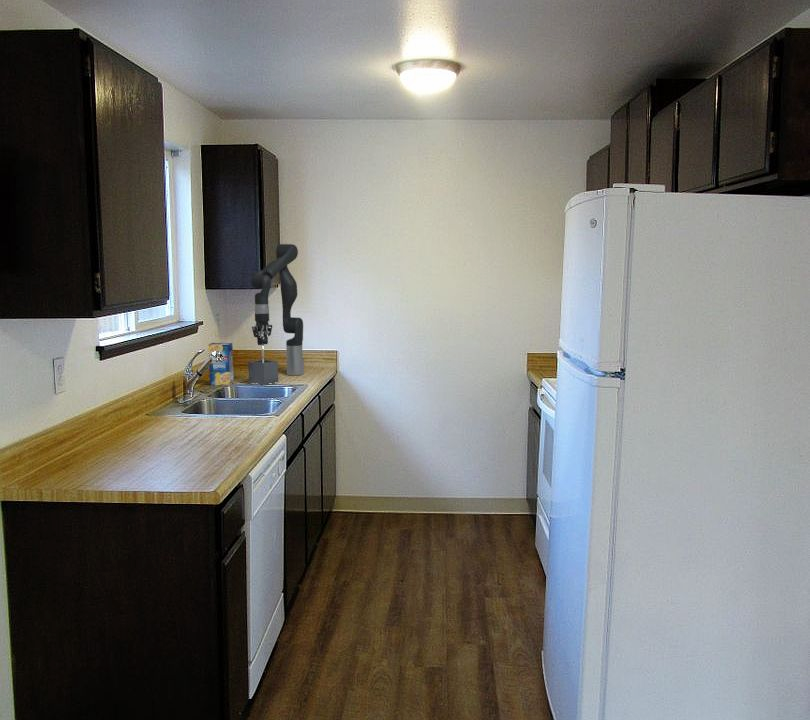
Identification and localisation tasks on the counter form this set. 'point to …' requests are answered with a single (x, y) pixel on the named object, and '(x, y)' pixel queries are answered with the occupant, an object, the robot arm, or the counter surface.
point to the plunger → (263, 347)
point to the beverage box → (221, 364)
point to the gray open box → (263, 371)
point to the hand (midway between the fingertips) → (262, 344)
